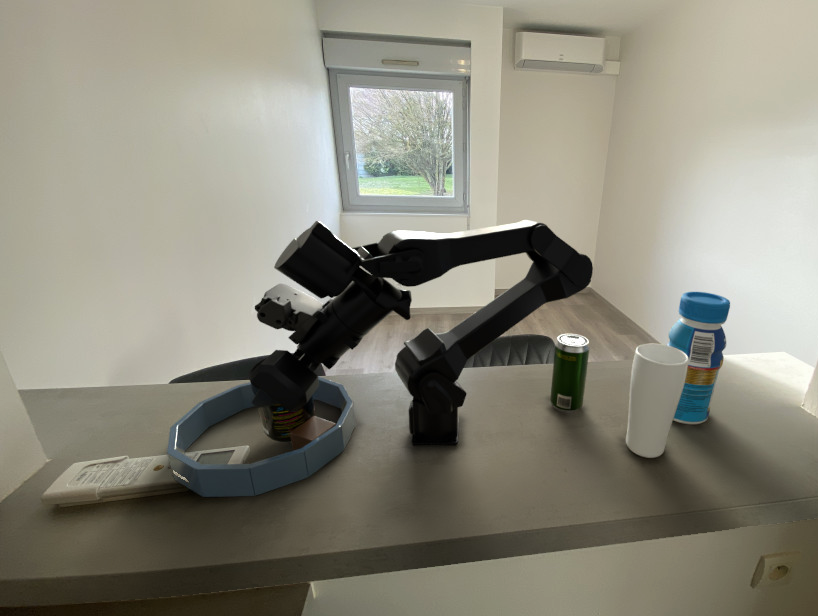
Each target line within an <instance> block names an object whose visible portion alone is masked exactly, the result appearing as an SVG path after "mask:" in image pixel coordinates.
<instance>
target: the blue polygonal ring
mask: <svg viewBox="0 0 818 616" xmlns="http://www.w3.org/2000/svg"><path fill="white" fill-rule="evenodd" d="M317 376H318V375H317ZM318 380H319V387H318V388H317V389H316V391H315V392H314V393H313V400H317V401H319V402H322V403H325V404H328V405H329V406H332V407H335V408H338V409H340V410H341V415H340V417H339V418H338V420H337V423H335V424H336V426H334V427H333V428H331V429H330V430H328V431H327V432H325V433H324V434H322V435H321V436H319V437H318V438H316V439H315V440H313V441H312V442H310V443H309V444H307V445H306V446H304V447H303V448H300V449H297V450H294V451H293V450H291V451H288V452H283V453H281V454H278V455H275V456H272V457H268V458H265V459H262V460H258V461H256V462H252V463H220V464H219V463H218V464H217V463H216V464H213V463H211V464H209V463H208V464H207V463H206V464H201V463H200V462H198V461H196V460H195V459H193V458H191V457H189V456H187V455H185V451H187V450H188V448H189V447H190V446H191V445H193V443H194V442H195V441H197V440H198V439H199V437H200V436H201V435H202V434H204V433H205V431H207V430H208V428H210V427H212V426H214V425H216V424H218V423H220V422H222V421H223V420H226V419H228V418H229V417H231V416H234V415H235V414H237V413H239V412H240V413H241V412H242V411H244V410H246V409H250V408H254V407H255V406H254V405H253V404H252V400H253V399H254V397H255V396H254V393H253V391H252V388H251V383H250V382H247V383H246V382H245V383H242V384H241V383H240V384H237V385H235V386H233V387H231V388H228V389H226V390H223V391H221V392H219V393H217V394H215V395H213V396H210V397H208V398H206V399H204V400H201V401H200V402H198V403H197V404H195V405H194V406H193V407H192V408H190V410H188V412H186V413H185V414H184V415H182V417H180V418H179V419H178V420H177V421H176V422H175V423H174V424H172V425H171V426H170V428H169V434H168V440H167V442H168V443H167V448H166V456H167V458H168V461H169V465H170V469H171V471H172V470H174V471H175V472H177V473H178V474H180V475H181V476H183V477H185V478H186V479H187V480H188V481H189V483H188V482H186V481H185V480H183V479H181V478H180V477H178V476H176V475H175V474H173V473H172V476H173V479H174V481H176V482H177V483H179V484H181V485H183V486H184V487H186V488H188V489H190V490H191V491H193V492H194V493H196V494H198V495H199V496H200V497H202V498H219V497H220V498H222V497H224V498H225V497H226V498H227V497H255V496H256V497H257V496H259V495H262V494H265V493H268V492H270V491H273V490H276V489H279V488H282V487H284V486H288V485H291V484H293V483H296V482H299V481H303V480H305V479H308V478H309V477H311V476H313V475H314V474H315V473H316V472H317V471H319V470H320V469H321V468H323V467H325V465H327V464H328V463H329V462H331V461H332V460H333V459H335V458H336V457H337V456H339V455H340V454H341V453H343V452H344V451H345V449H346V447H347V445H348V442H349V441H350V438H351V436H352V434H353V431H354V428H355V427H356V419H355V417H356V416H355V408H354V407H355V406H354V401H353V399H352V398H351V396H350V394H349V393H348V391H347V389H346V387H345V386H344V384H343V383H340V382H336V381H333V380H330V379H328V378H325V377H321V376H318Z"/></svg>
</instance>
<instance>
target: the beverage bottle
mask: <svg viewBox="0 0 818 616" xmlns="http://www.w3.org/2000/svg"><path fill="white" fill-rule="evenodd" d="M730 309H731V301H730V299H728V298H726V297H724V296H722V295H719V294H716V293H711V292H706V291H686V292H684V293H682V295H681V297H680V300H679V306H678V316H679V319H678V320H677V321H675V322H674V324H673V325H672V327H671V328H670V330H669V331H668V339H669V341H668V342H667V343H666V345H668V346H671V347H674V348H677V349H679V350H681V351H683V352H684V353H685V354H686V355H687V356H688V358H689V362H688V368H687V374H686V379H685V384H684V387H683V391H682V394H681V397H680V400H679V403H678V406H677V409H676V412H675V416H674V419H673V421H674V422H676V423H679V424H685V425H700V424H702V423H704V422H706V421H707V420H708V419H709V415H710V412H711V404H712V400H713V396H714V392H715V388H716V384H717V380H718V376H719V372H720V369H721V368H722V367H723V364H724V360H725V359H724V353H723V351H724V350H726V347H727V337H726V333H725V330H724V328H723V326H722V325H724V324H726V322H727V320H728V317H729V312H730Z"/></svg>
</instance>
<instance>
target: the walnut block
mask: <svg viewBox="0 0 818 616" xmlns="http://www.w3.org/2000/svg"><path fill="white" fill-rule="evenodd" d="M336 424H337V423H335V422H333V421H329V420H326V419H324V418H321V417H318V416H316V417H315V416H313V417H312V418H310V419H309V420H307V421H306V422H304V423H303V424H301V425H300V426H298V427H297V428H295V429H294V430H292V431H291V432H290V437H291V441H290V442H291V446H292V447H291V449H292V451H294V450H297V449H300V448H303V447H304V446H306V445H307V444H309V443H310V442H312V441H313V440H315V439H316V438H318V437H319V436H321V435H322V434H324V433H325V432H327V431H328V430H330V429H331V428H333V427H334V426H336Z"/></svg>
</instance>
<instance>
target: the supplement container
mask: <svg viewBox="0 0 818 616" xmlns="http://www.w3.org/2000/svg"><path fill="white" fill-rule="evenodd" d="M294 356H295V357H296V358H297V359H298V360H299V359H300V358H301V357H299V356H297V355H294ZM265 359H266V358H264V359H262V360H260V361H259V362H258V363H256V364H255V365H254V366H253V367H252V369H251V370H250V372H249V374H250V373H251V372H252V371H253V370H255V369H256V368H257V367H258V366H259V365H260V364H261V363H262V362H263V361H264V360H265ZM307 367H308V365H307ZM248 379H249V383H251V388H252V391H253V393H254V396H255V395H256V394H257V392H258V390H259V389H260V388H259V387H258V386H256V385H255V384H254V383H253V382H251V381H250V377H248ZM257 411H258V414H259V418H260V422H261V425H262V429H263V432H264V434H265V435H266V437H268V438H269V439H271V440H272V441H275V442H280V443H289V442H291V437H290V432H291V431H292V430H294V429H295V428H297V427H298V426H300V425H301V424H303V423H304V422H306V421H307V420H309V419H310V418H312V417H313V416H315V417H317V415H316V408H315V401H314V399H313V395H312V396H311V398H310V399H309V400H308V402H307V403H306V404H305V405H303V406H302V407H301V408H300V409H299V410H298V411H296V412H289V411H288V410H287V409H285V408H284V407H283V406H282V405H280V404H277V405H272V406H266V407H261V408H257Z"/></svg>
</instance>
